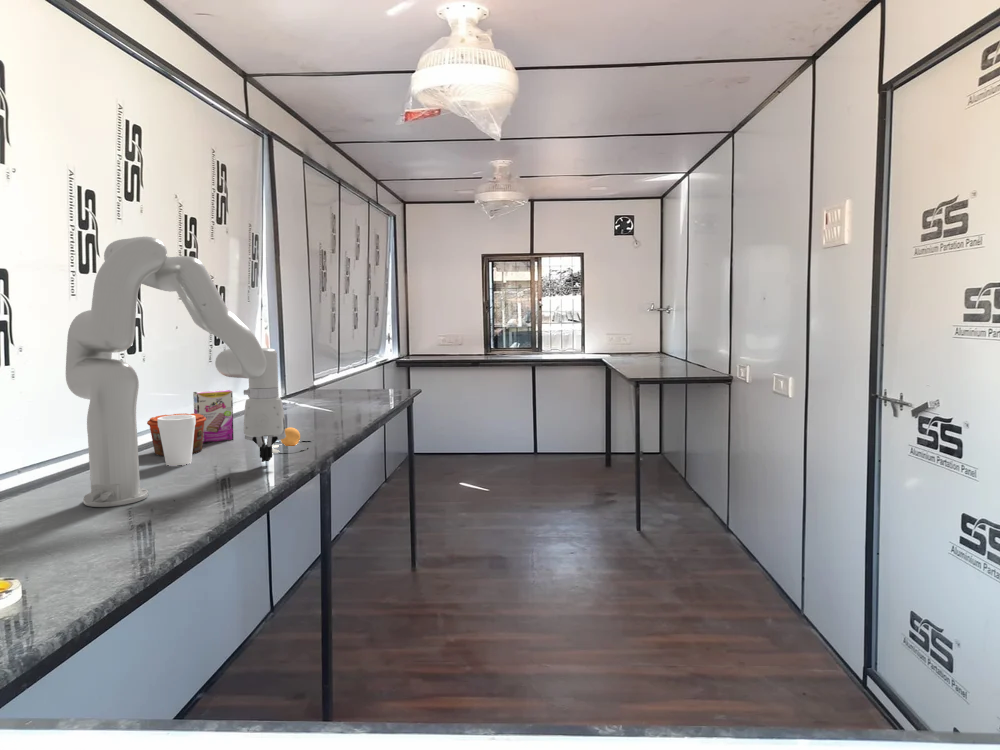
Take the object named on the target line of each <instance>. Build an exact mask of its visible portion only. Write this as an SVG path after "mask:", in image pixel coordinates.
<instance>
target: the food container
mask: <svg viewBox="0 0 1000 750" xmlns="http://www.w3.org/2000/svg"><path fill="white" fill-rule="evenodd" d="M171 415H194V416H195V418H196V425H195V430H194V441H193V451H192V455H195V454H197V453H200V452H201V451H202V450H203V444H204V443H203V430H204V422H205V421H206V418H205V417H204V416H203V415H201V414H194V413H173V414H162V415H156V416H153V417H150V418H149V420H147V421H146V422H147V423H146V424H147V425H148V426H149V430H150V431H149V432H150V435H151V436H150V437H151V440H152V445H153V450H154V454H155V455H156V456H158V455H160V456H159V457H165V456H164V451H163V446H162V441H161V436H160V431H159V428H158V420H157V418H159V417H164V416H171ZM194 453H195V454H194Z"/></svg>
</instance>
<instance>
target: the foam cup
mask: <svg viewBox="0 0 1000 750" xmlns="http://www.w3.org/2000/svg"><path fill="white" fill-rule="evenodd" d="M170 415H171V416H164V417H159V418H157V420H158V428H159V431H160V436H161V441H162V446H163V451H164V456H163V457H164V460H165V466H167V465H169V466H168V467H178V466H177V465H182V466H187V465H190V464H191V463H192V460H193V454H192V451H193V441H194V430H195V425H196V418H195V416H194V415H173V414H170ZM189 463H190V464H189ZM186 464H187V465H186Z"/></svg>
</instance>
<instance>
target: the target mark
mask: <svg viewBox="0 0 1000 750" xmlns="http://www.w3.org/2000/svg"><path fill="white" fill-rule="evenodd" d="M279 445H280V444H275V445H274V444H273V445H272V447H274V448H278V447H279ZM278 452H280V451H279V450H277V449H273V448H272V453H278Z"/></svg>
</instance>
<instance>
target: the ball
mask: <svg viewBox="0 0 1000 750" xmlns="http://www.w3.org/2000/svg"><path fill="white" fill-rule="evenodd" d="M285 434H286V437H285V438H284V439H281V440H280V441H281V442H280V443H282V444H284V445H285V446H295V445H297V444H299V443H300V442H299V441H300V440H301V433H300V431H299V430H298V429H296V428H294V427H285Z"/></svg>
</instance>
